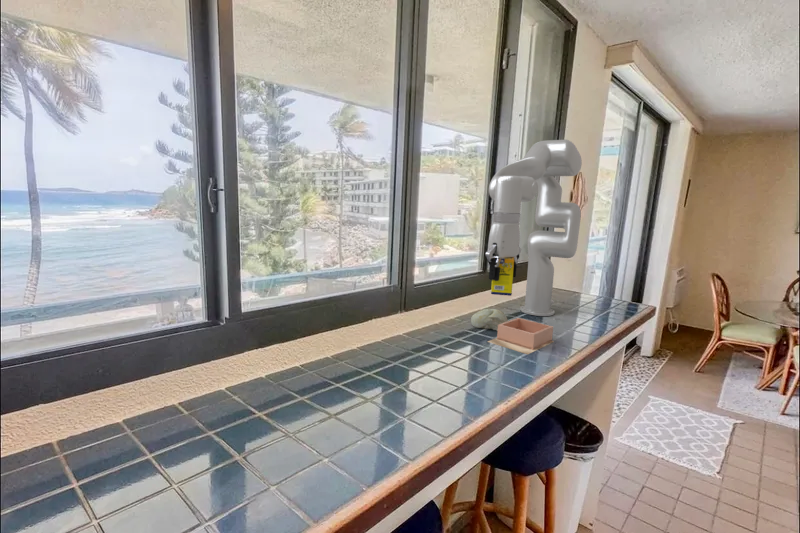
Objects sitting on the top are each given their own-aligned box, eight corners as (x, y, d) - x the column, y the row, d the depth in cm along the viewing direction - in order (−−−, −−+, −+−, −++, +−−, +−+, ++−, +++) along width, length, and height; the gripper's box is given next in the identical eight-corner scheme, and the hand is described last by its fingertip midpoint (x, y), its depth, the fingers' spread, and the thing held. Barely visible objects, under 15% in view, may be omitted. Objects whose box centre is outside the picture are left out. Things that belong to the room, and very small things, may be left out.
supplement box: (511, 296, 118) (514, 259, 116) (490, 294, 119) (493, 257, 118) (511, 291, 124) (513, 256, 122) (491, 290, 125) (493, 255, 123)
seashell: (467, 308, 132) (482, 299, 139) (465, 330, 134) (480, 320, 142) (503, 320, 124) (517, 310, 131) (500, 343, 127) (514, 332, 134)
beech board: (515, 334, 130) (515, 330, 130) (554, 345, 121) (554, 341, 121) (486, 345, 119) (487, 341, 119) (527, 358, 110) (527, 354, 110)
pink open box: (517, 331, 130) (518, 317, 129) (551, 341, 121) (553, 326, 121) (497, 339, 122) (498, 324, 121) (532, 350, 113) (534, 334, 113)
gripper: (511, 217, 126) (507, 273, 129) (477, 219, 115) (474, 279, 118) (533, 219, 121) (529, 276, 124) (500, 220, 109) (496, 284, 112)
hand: (502, 277), depth 121 cm, fingers closed on supplement box, 8 cm apart
